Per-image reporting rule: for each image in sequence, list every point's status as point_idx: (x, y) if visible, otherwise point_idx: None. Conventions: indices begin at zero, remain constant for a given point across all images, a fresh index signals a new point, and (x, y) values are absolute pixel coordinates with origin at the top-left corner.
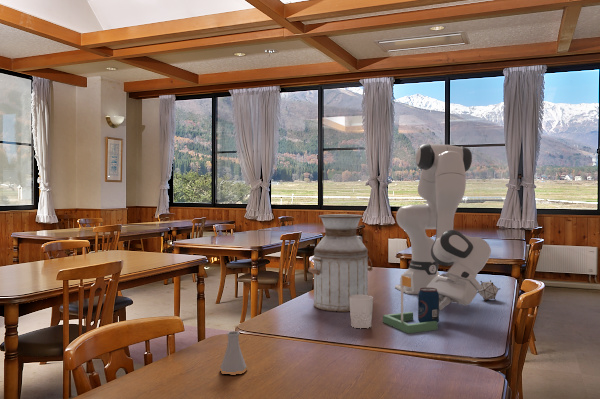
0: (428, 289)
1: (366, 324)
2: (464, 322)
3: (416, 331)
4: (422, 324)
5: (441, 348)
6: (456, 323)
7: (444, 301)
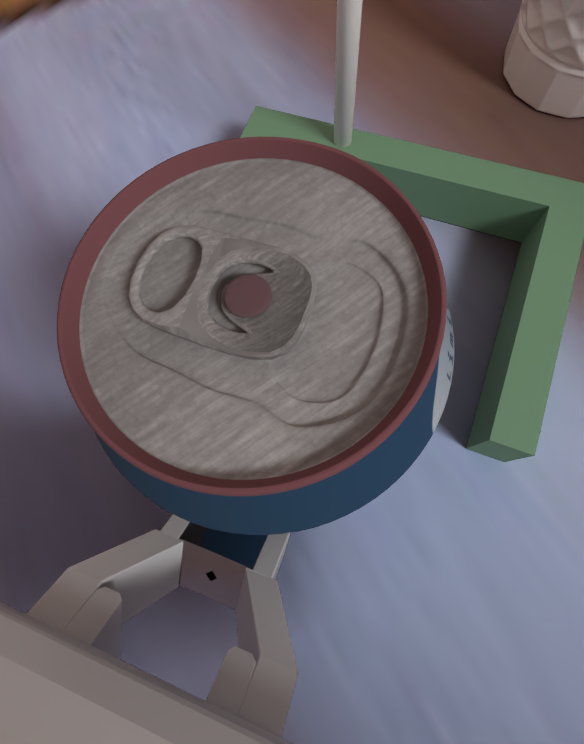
0: (246, 290)
1: (513, 28)
2: None
3: None
4: None
5: (5, 83)
6: (130, 626)
7: (108, 554)
